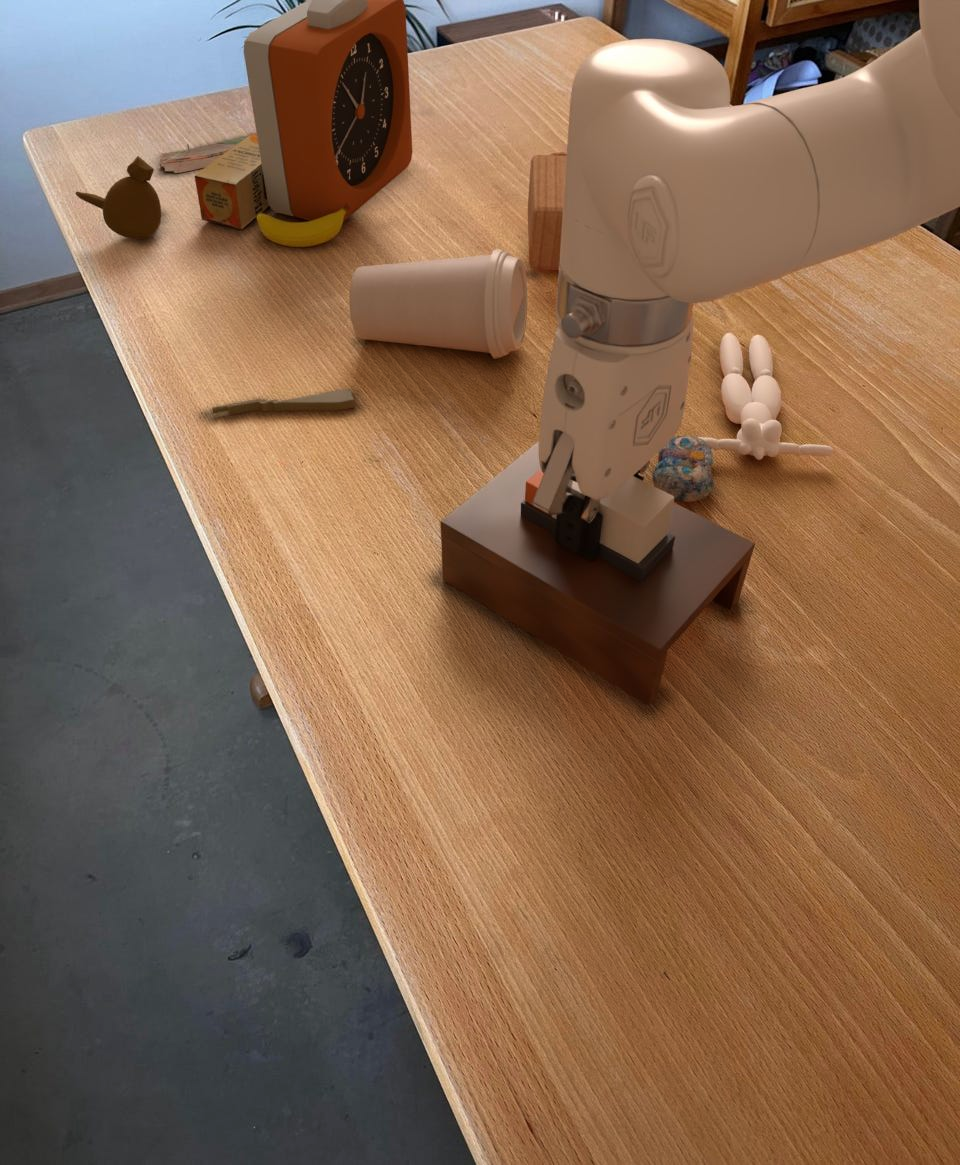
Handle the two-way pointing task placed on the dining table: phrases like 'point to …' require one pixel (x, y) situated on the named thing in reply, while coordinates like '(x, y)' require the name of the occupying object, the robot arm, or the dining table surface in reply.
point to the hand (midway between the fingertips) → (596, 529)
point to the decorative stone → (685, 469)
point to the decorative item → (546, 210)
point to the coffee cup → (443, 303)
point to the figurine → (130, 203)
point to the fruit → (302, 229)
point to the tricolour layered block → (621, 524)
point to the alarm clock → (330, 103)
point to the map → (196, 156)
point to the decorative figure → (755, 404)
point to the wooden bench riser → (589, 582)
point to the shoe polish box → (233, 186)
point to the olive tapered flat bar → (294, 403)
